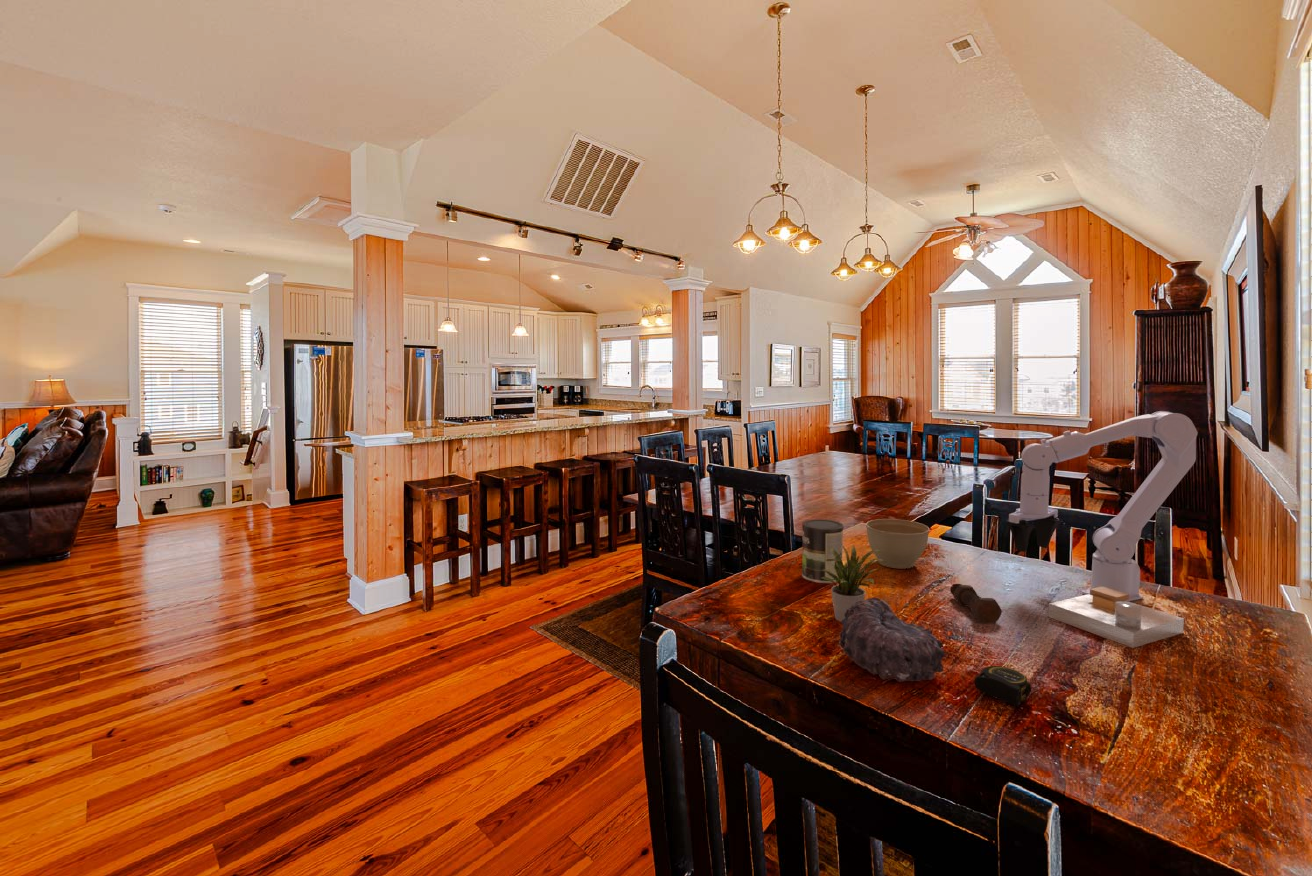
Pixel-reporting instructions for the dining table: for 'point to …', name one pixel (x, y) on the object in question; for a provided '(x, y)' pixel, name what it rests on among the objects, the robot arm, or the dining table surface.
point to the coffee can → (820, 548)
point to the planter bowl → (897, 541)
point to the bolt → (977, 603)
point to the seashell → (889, 643)
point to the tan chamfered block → (1107, 597)
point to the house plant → (848, 581)
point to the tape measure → (1003, 684)
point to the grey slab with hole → (1117, 620)
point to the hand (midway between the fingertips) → (1032, 548)
